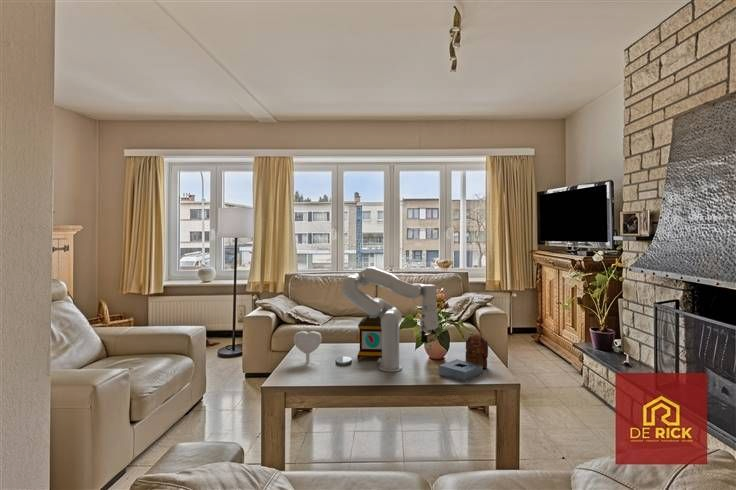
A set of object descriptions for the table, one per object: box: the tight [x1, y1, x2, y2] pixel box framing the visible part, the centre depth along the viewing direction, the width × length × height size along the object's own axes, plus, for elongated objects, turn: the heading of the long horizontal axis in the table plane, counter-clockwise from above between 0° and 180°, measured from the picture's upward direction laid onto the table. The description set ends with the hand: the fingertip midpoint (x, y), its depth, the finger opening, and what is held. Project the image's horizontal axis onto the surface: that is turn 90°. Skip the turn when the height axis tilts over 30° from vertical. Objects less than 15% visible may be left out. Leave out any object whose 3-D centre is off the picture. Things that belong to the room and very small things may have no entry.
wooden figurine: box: [465, 334, 489, 369], centre depth 231 cm, size 12×6×18 cm, turn 79°
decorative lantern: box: [356, 313, 382, 362], centre depth 252 cm, size 20×20×30 cm
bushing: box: [424, 332, 436, 350], centre depth 224 cm, size 7×7×8 cm
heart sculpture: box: [293, 330, 323, 366], centre depth 240 cm, size 16×5×18 cm, turn 87°
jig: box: [438, 358, 484, 383], centre depth 219 cm, size 16×16×5 cm
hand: (428, 340), depth 224 cm, fingers closed on bushing, 6 cm apart
